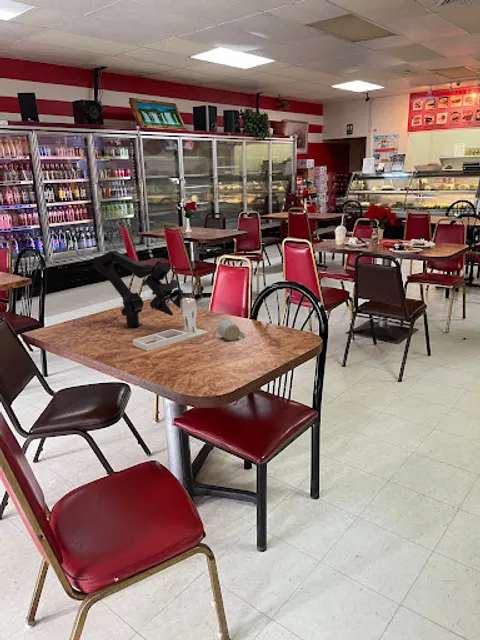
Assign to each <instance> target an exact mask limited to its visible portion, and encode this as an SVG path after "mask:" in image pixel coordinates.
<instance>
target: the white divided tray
mask: <svg viewBox="0 0 480 640" xmlns="http://www.w3.org/2000/svg"><path fill="white" fill-rule="evenodd" d="M196 329H197V333H196V334H191V335H187V333H184V330H181V331H180V330H177V329H174V328H171V329H168V330H164V331H160V332H157V333H153V334H149V335H147V336H143V337H139V338H135V339H133V340H132V344H133V345H134V347H135V346H136V348H138V349H140V348H141V350H143V351H145V350H146V351H145V352H149V350H150V351H154V350H155V349H159V348H162V347H165V346H169V345H173V344H175V343H180V342H182V341H186V340H188V339H193V338H196V337H199V336H204V335H205V334H209V333H210V332H209V330H208V331H207V330H204V329H200V328H197V327H196ZM153 341H155V342H153Z"/></svg>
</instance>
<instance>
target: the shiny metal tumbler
mask: <svg viewBox="0 0 480 640" xmlns="http://www.w3.org/2000/svg"><path fill="white" fill-rule="evenodd" d="M180 301H181V309H180V315H181V319H182V323H183V331H184V333H187V335H191V334H196V333H197V329H198V328H197V325H196V322H197V311H198V309H197V300H196V299H195V298H194V297H188V298H187V297H186V298H182V300H180ZM196 328H197V329H196Z"/></svg>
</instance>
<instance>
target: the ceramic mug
mask: <svg viewBox="0 0 480 640" xmlns="http://www.w3.org/2000/svg"><path fill="white" fill-rule="evenodd" d="M217 333H218V334H219V336H221V337H222V338H224V339H225V340H227V341H235V340H237V339H238V338H239V337H240V338H244V337H245V335H246V334H245V333H244V332H243V331H241V330H240V327H239V326H238V325H237V324H235V322H233V321H232V320H231V319H223V320H221V321H220V322H218V325H217Z"/></svg>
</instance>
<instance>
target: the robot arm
mask: <svg viewBox="0 0 480 640" xmlns="http://www.w3.org/2000/svg"><path fill="white" fill-rule="evenodd" d="M114 262H115V263H116V264H118V265H121V266H123V267H124V268H127V269H128V270H130V271H131V273H132V274H133V275H134V276H135V277H137V278H138V279H142V287H145V286H148V288H149V289H150V291H152V292H151V294H152V295H153V296H154V295H155V296H154V297H153V299H152V300H151V301H150V302H149V307H150V308H151V309H152V310H155V311H159V312H162V313H165V314H166V315H169V316H171V317H172V316H173V315H174V313H173V312H172V310H171V309H170V307H169V306H168V305H167V301H169V300H170V301H171V302H172V304H173V305H174V306H176V307H178V308H179V309H180V310H181V301H180V300H182V299H183V298H182V297H183V294H184V291H183V289H181V288H179V282H178V281H177V279H175V278H174V279H172V280H170V282H169V283H166V282H165V283H163V282H162V280H164V279H165V278H166V276H168V273H169V272H171V268H170V265H168V264H166V263H165V262H162V261H161V260H158V261H156V262H155V264H154V265H153V266H152V265H151V264H149V263H146V262H143V261H136V260H135V259H132V258H131V257H129V256H127V255H125V254H123V253H121V252H119V250H111V251H108V252H106V253H104V254H103V255H98V256H94V257H93V259H92V266H93V268H94V269H96V271H98V272H100V273H101V274H103V275H105V277H106V279H107V280H108V281H109V282H110V284H111V285H112V286H113V287H114V289H115V290H116V292H117V293H118V294H119V295H120V297H121V298H122V305H123V306H124V307H123V308H122V309H121V310H120V312H121V315H122V316H123V317H126V319H125V320H126V325H125V326H123V327H124V328H126V329H137V328H139V327H141V326H142V325H143V323H142V322H140V317H139V313H142V311H143V308H144V300H143V298H142V297H141V295H140V294H139V292H132V291H131V290H130V288H129V287H128V286H127V285H126V283H125V282H124V280H123V279H122V278H121V277H120V275H119V274H118V272H117V271H116V270H115V268H114ZM143 278H145V279H143Z"/></svg>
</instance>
